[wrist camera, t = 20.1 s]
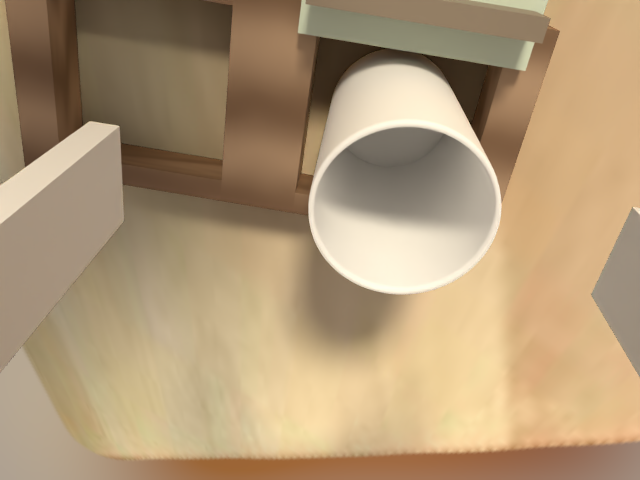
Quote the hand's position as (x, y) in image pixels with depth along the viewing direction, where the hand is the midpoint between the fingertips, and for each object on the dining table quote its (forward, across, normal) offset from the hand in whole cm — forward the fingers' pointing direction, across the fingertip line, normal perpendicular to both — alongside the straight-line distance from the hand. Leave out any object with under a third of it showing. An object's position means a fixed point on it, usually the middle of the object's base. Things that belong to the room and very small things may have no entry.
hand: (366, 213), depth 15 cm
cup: (+24, +2, -4) cm, 25 cm away
